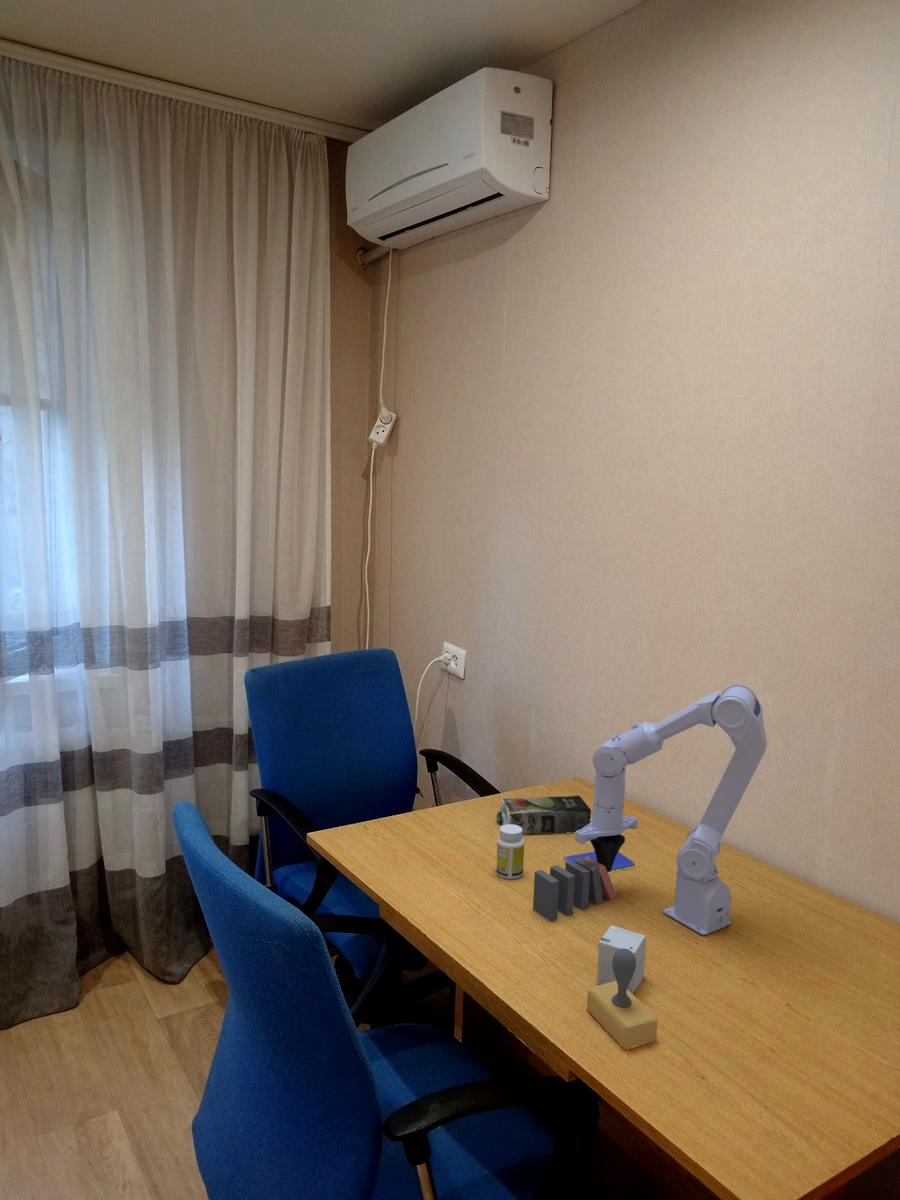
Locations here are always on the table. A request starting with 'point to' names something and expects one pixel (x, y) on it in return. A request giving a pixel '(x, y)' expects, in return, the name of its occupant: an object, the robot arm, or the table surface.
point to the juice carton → (545, 814)
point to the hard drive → (618, 864)
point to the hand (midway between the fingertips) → (604, 870)
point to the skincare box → (612, 943)
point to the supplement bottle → (510, 852)
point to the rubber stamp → (622, 1005)
